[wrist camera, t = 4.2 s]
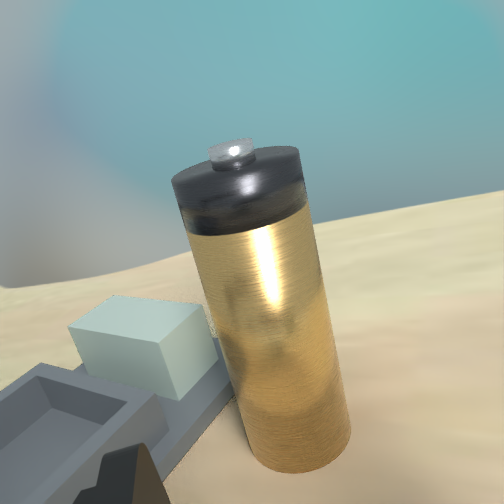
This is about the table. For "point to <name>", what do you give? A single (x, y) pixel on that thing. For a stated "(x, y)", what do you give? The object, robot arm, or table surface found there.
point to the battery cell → (267, 300)
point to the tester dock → (112, 399)
